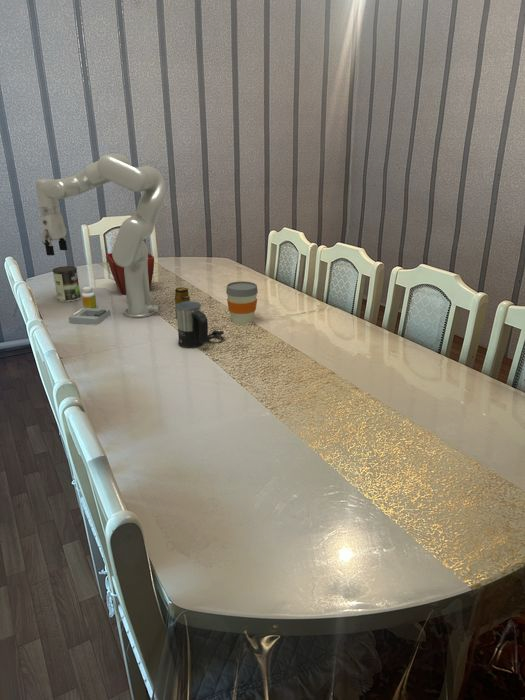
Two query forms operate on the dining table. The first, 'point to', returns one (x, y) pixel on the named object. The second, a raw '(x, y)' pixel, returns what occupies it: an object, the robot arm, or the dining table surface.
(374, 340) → the dining table surface
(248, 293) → the reusable coffee cup
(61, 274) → the coffee can
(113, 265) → the plant pot
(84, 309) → the dock
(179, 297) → the condiment
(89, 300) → the supplement bottle
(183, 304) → the milk frother
